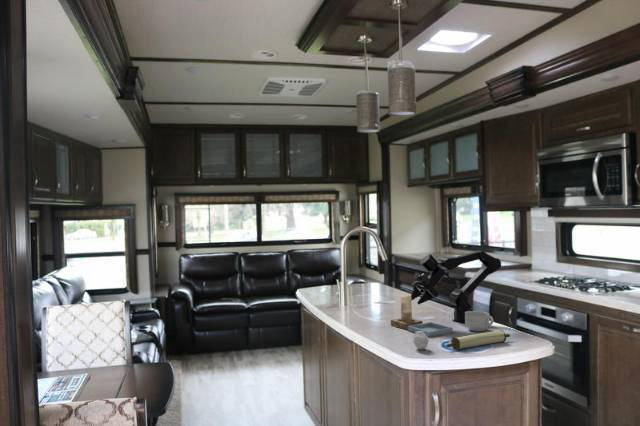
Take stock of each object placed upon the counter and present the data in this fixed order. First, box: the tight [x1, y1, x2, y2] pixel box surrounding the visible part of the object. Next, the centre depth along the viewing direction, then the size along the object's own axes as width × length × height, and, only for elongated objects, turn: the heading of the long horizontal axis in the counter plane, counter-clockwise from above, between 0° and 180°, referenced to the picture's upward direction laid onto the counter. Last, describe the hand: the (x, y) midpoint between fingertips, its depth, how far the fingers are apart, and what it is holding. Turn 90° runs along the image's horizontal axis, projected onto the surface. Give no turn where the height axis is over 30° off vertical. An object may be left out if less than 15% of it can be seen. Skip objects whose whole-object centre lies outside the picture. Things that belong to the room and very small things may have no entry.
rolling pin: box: [446, 329, 511, 351], centre depth 198 cm, size 32×6×5 cm, turn 114°
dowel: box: [400, 295, 413, 323], centre depth 235 cm, size 5×5×14 cm
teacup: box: [464, 310, 494, 332], centre depth 222 cm, size 14×11×8 cm
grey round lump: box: [412, 331, 429, 351], centre depth 195 cm, size 6×7×7 cm
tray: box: [407, 321, 453, 338], centre depth 222 cm, size 14×14×2 cm
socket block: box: [390, 317, 423, 330], centre depth 235 cm, size 11×11×2 cm
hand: (413, 302), depth 236 cm, fingers open, 9 cm apart
